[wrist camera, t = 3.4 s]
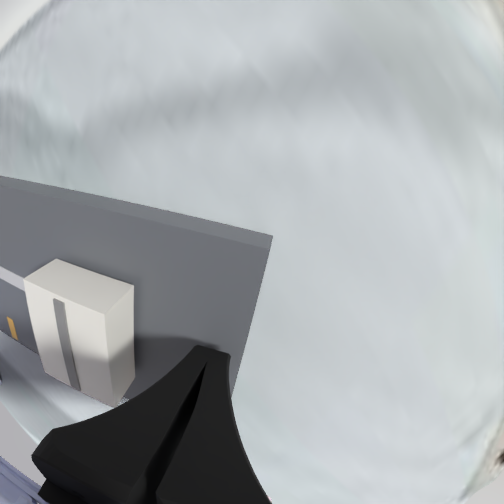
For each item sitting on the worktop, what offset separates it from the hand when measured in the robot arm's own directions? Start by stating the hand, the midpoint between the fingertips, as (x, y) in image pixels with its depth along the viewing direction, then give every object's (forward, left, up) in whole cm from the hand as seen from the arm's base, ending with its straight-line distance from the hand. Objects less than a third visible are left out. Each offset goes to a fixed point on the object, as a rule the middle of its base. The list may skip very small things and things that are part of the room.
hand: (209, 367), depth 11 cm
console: (-9, 0, -2) cm, 9 cm away
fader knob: (-5, 0, 0) cm, 5 cm away
